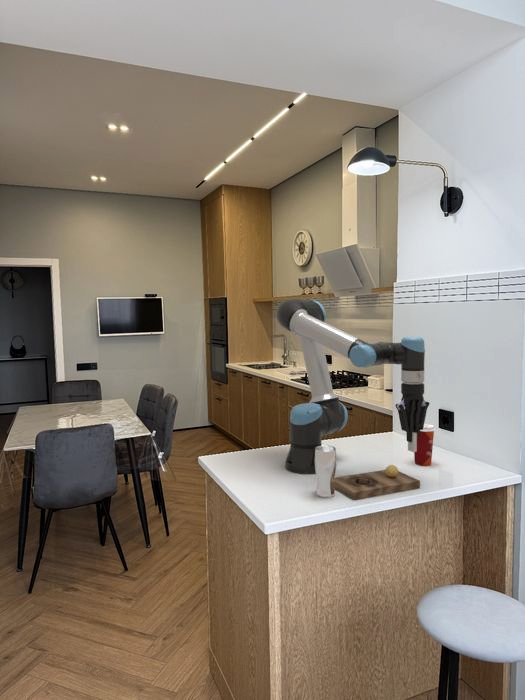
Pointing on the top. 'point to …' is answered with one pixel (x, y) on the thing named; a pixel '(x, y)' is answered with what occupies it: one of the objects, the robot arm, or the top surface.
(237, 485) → the top surface
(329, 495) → the beer glass
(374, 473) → the board
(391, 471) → the ball
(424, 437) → the coffee cup
